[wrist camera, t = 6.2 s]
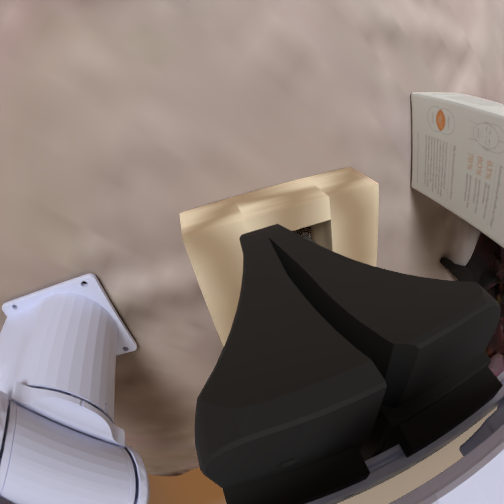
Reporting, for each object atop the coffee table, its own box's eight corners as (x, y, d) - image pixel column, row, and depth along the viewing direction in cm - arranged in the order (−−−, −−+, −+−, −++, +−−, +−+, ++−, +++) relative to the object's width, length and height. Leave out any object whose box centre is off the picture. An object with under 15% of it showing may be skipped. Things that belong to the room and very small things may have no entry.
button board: (250, 402, 33) (258, 428, 30) (179, 212, 19) (182, 239, 17) (347, 367, 34) (361, 389, 31) (350, 166, 21) (378, 183, 18)
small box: (456, 176, 24) (566, 246, 13) (409, 187, 23) (532, 275, 12) (459, 90, 19) (591, 137, 9) (408, 90, 19) (566, 140, 8)
